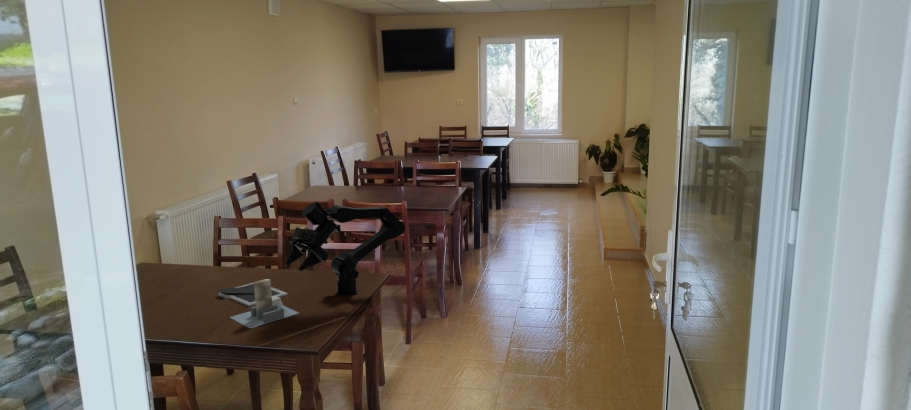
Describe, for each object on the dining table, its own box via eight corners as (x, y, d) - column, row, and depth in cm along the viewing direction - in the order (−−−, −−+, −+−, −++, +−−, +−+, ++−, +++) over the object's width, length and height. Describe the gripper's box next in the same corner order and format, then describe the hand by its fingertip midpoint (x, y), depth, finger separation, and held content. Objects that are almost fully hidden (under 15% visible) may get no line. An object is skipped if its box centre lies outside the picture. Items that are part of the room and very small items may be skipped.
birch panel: (269, 312, 205) (267, 278, 203) (272, 313, 204) (270, 279, 202) (256, 316, 202) (253, 282, 199) (259, 317, 200) (256, 283, 198)
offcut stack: (276, 303, 214) (275, 295, 213) (282, 306, 211) (282, 298, 210) (262, 307, 210) (262, 299, 209) (269, 310, 207) (268, 302, 207)
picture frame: (219, 297, 224) (249, 310, 211) (218, 290, 224) (248, 302, 210) (257, 286, 236) (287, 298, 223) (256, 279, 235) (287, 291, 222)
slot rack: (278, 305, 214) (277, 295, 213) (299, 315, 205) (298, 304, 204) (229, 319, 201) (228, 308, 201) (250, 330, 192) (249, 319, 191)
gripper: (294, 215, 218) (265, 247, 213) (321, 223, 205) (291, 259, 199) (313, 234, 225) (285, 266, 219) (340, 244, 212) (311, 278, 206)
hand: (292, 267), depth 211 cm, fingers open, 9 cm apart
